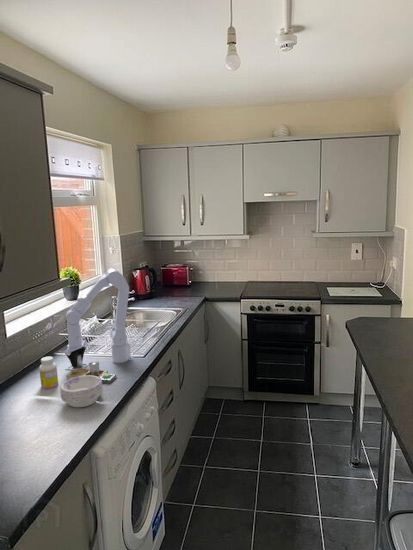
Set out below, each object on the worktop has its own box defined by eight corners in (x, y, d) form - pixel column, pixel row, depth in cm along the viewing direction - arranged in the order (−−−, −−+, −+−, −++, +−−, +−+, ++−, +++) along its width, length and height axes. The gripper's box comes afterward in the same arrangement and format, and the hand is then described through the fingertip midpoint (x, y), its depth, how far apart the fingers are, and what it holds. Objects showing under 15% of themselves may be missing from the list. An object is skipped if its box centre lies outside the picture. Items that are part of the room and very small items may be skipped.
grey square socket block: (104, 378, 184) (104, 373, 184) (116, 379, 183) (116, 374, 182) (98, 384, 178) (97, 379, 178) (110, 385, 177) (109, 380, 176)
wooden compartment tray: (77, 373, 191) (76, 368, 190) (108, 375, 187) (107, 370, 187) (67, 380, 183) (66, 375, 183) (99, 383, 180) (98, 377, 179)
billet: (75, 365, 198) (74, 353, 197) (83, 366, 197) (82, 353, 196) (71, 369, 194) (70, 356, 193) (79, 369, 193) (78, 357, 192)
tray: (74, 365, 200) (74, 362, 200) (89, 366, 199) (89, 363, 198) (65, 371, 193) (65, 368, 193) (80, 372, 191) (80, 369, 191)
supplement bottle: (41, 386, 179) (38, 356, 177) (58, 383, 181) (55, 354, 179) (41, 392, 173) (38, 362, 170) (58, 389, 175) (55, 359, 173)
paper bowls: (73, 392, 172) (71, 373, 171) (109, 393, 170) (108, 375, 168) (54, 410, 158) (52, 390, 156) (93, 412, 155) (91, 392, 153)
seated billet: (93, 374, 187) (92, 361, 186) (101, 374, 186) (100, 361, 185) (88, 378, 183) (87, 364, 182) (97, 378, 182) (96, 365, 181)
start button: (105, 380, 182) (105, 373, 182) (111, 380, 181) (111, 374, 181) (102, 383, 179) (102, 376, 179) (108, 383, 179) (108, 376, 178)
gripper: (75, 330, 201) (77, 358, 203) (57, 341, 187) (60, 370, 189) (88, 331, 199) (91, 359, 202) (72, 341, 185) (74, 371, 188)
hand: (77, 364), depth 195 cm, fingers closed on billet, 4 cm apart
